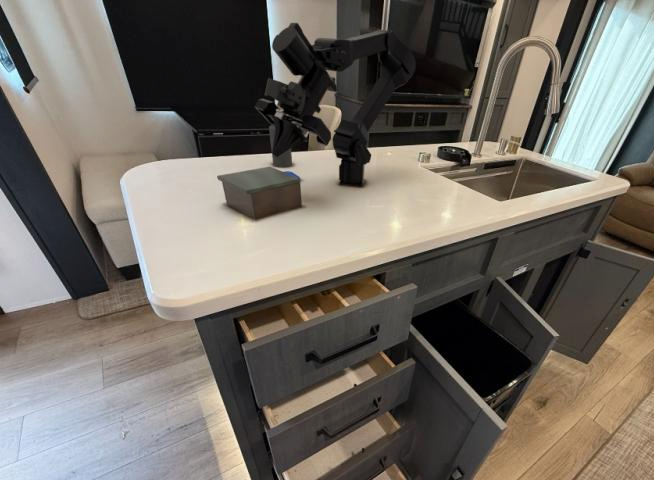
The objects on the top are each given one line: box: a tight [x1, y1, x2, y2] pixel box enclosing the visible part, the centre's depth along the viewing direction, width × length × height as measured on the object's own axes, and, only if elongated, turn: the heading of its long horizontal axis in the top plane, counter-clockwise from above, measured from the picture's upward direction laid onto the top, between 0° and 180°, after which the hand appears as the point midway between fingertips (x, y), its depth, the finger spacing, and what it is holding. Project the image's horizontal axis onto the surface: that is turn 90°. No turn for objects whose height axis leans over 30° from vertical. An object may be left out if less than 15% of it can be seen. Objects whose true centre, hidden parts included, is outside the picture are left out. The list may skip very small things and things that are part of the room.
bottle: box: [268, 109, 293, 168], centre depth 97 cm, size 6×6×15 cm
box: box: [221, 181, 303, 221], centre depth 73 cm, size 12×11×6 cm
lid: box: [216, 166, 301, 194], centre depth 71 cm, size 13×11×1 cm
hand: (274, 155), depth 71 cm, fingers closed
